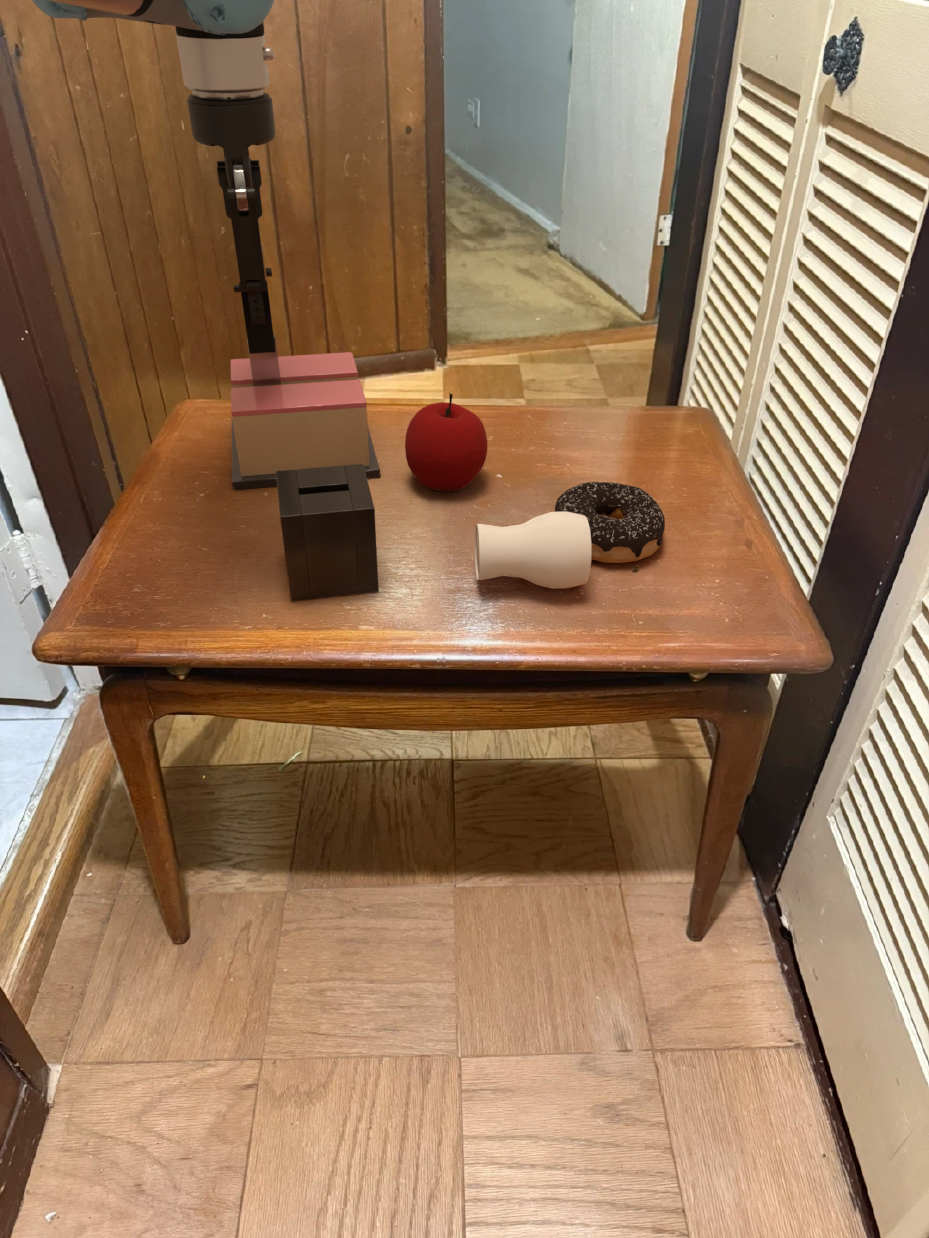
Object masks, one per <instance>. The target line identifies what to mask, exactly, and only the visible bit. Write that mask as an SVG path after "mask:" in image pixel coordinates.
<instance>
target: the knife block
mask: <svg viewBox="0 0 929 1238" xmlns="http://www.w3.org/2000/svg"><path fill="white" fill-rule="evenodd" d="M276 478H277V486H276V487H277V488H276V489H277V500H278V510H279V519H280V528H281V535H282V543H283V549H284V558H285V565H286V574H287V580H288V581H287V582H288V588H289V597H290V602H298V601H306V600H307V601H308V600H314V599H316V600H317V599H325V598H334V597H335V598H336V597H343V596H352V595H353V596H354V595H360V594H361V595H362V594H368V593H369V594H370V593H379V591H380V590H379V589H380V588H379V570H378V569H379V568H378V549H377V548H378V547H377V530H376V513H375V512H376V511H375V504H374V501H373V498H372V497H373V496H372V493H371V489H370V484H369V480H368V478H367V477H366V473H365V469H364V465H363V464H355V465H344V466H331V467H319V468H307V469H296V470H284V471H276Z"/></svg>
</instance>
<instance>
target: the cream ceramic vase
mask: <svg viewBox="0 0 929 1238" xmlns="http://www.w3.org/2000/svg"><path fill="white" fill-rule="evenodd" d="M474 564H475V565H474V566H475V567H474V568H475V576H476V580H477V581H482V580H489V579H494V578H499V577H511V578H520V579H523V580H525V581H528V582H530V583H532V584H534V585H536V586H540V587H544V588H548V589H552V590H555V589H570V588H574V587H578V586H582V585H586V584H587V582H588V581H589V578H590V573H591V567H592V559H591V534H590V527H589V523H588V520H587V518H586V517H585V516H584V515H580V514H576V513H571V512H554V511H550V512H546V513H543V514H540V515H537V516H535V517H533V518H530V519H529V520H527V521H525V522H523V523H521V524H514V525H506V526H499V525H492V524H486V523H485V524H484V523H476V524H475V529H474Z"/></svg>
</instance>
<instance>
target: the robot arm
mask: <svg viewBox="0 0 929 1238" xmlns="http://www.w3.org/2000/svg"><path fill="white" fill-rule="evenodd" d="M31 2H32V3H33V4H34V5H35V6H36V7H37V9H39V10H40V11H41V12H42V13H43V14H44V15H46V16H49V17H51V18H53V19H78V20H79V21H82V22H83V21H87V20H88V19H97V18H98V19H100V18H102V19H103V18H107V19H108V18H110V19H120V20H126V21H132V22H133V21H134V22H140V23H146V24H147V23H148V24H154V25H166V26H172V27H175V33H176V34H175V37H176V43H177V49H178V57H179V62H180V68H181V75H182V80H183V85H184V87H186V89H188V90H190V91H191V94H189V95H188V98H187V99H186V102H187V108H188V115H189V122H190V127H191V134H192V137H193V139H194V140H195V141H196V142H197V143H199V144H201V145H204V146H208V147H220V148H222V149H223V158H224V160H216V173H217V179H218V184H219V187H220V188H221V189H222V196H223V203H224V210H225V215H226V216H227V218H229V219H230V220H231V227H232V234H233V242H234V249H235V255H236V262H237V269H238V275H239V282H238V284H233V292H234V293H235V294H236V293H240V296H241V297H240V298H241V302H242V310H243V316H244V317H243V318H244V324H245V325H244V326H245V331H246V340H247V339H248V344H247V348H248V347H249V351H248V355H249V354H253V353H270V352H275V344H274V336H275V334H274V328H273V319H272V310H271V303H270V302H271V301H270V295H269V294H270V293H269V285H268V280H267V281H265V272H264V264H263V256H262V248H261V245H262V240H261V232H260V225H259V224H260V223H259V219H260V218H261V217H262V216H263V205H262V198H261V187H262V183H263V182H262V174H261V173H262V172H261V166H260V160H259V159H251V158H250V150H249V148H250V147H251V146H263V145H267V144H269V143H271V142H272V141H273V140H274V139H275V138H276V126H275V115H274V106H273V105H274V104H273V98H272V97H270V94H268V93H267V92H264V90H265V89H267V88H268V87H269V86H270V75H269V66H268V64H267V63H266V61H273V60H274V59H275V52H274V50H273V47H270V46H266V47H264V46H265V44H266V38H265V37H266V36H265V25H264V23H265V20H266V18H267V17H268V15H269V14H270V12H271V9H272V7H273V6H274V3H275V0H31ZM265 270H266V278H269V277H273V271H272V267H265Z"/></svg>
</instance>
